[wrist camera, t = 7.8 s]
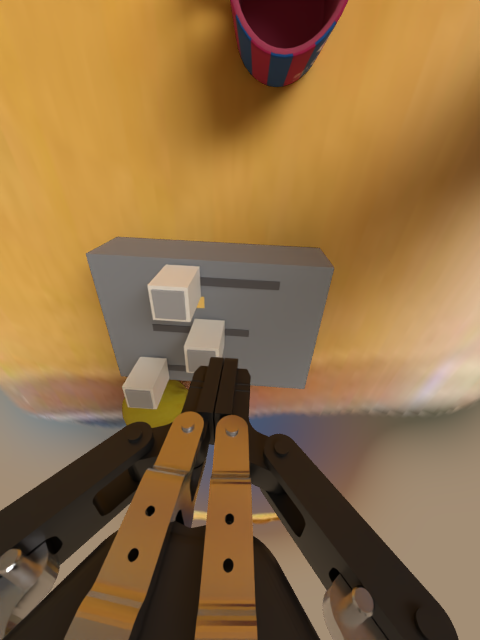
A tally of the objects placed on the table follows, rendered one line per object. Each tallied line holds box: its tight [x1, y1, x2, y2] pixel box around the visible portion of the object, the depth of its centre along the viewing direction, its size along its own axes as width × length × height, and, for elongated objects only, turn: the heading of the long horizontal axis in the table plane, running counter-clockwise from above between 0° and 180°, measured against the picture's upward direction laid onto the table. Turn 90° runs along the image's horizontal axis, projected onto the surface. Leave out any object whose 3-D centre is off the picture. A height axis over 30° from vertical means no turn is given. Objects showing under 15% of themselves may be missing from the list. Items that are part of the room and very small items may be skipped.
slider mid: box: [184, 319, 225, 373], centre depth 24 cm, size 3×3×5 cm
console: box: [86, 237, 334, 389], centre depth 29 cm, size 22×15×6 cm
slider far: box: [122, 357, 169, 409], centre depth 27 cm, size 3×3×5 cm
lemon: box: [122, 380, 188, 428], centre depth 36 cm, size 11×8×8 cm
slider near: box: [147, 264, 201, 322], centre depth 21 cm, size 3×3×5 cm
